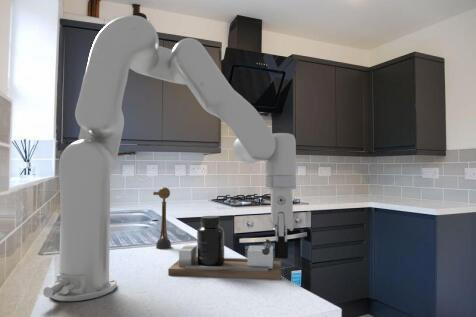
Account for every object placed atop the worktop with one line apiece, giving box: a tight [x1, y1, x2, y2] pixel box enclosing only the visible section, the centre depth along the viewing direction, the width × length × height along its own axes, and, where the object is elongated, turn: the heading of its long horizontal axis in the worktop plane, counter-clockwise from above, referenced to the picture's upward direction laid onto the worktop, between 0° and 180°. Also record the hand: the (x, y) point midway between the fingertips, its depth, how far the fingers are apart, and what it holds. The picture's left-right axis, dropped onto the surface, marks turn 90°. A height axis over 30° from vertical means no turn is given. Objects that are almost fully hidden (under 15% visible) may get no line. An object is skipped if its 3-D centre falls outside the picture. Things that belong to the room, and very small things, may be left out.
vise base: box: [167, 244, 282, 280], centre depth 81 cm, size 10×27×6 cm, turn 83°
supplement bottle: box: [196, 215, 225, 266], centre depth 81 cm, size 7×7×12 cm
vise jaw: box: [246, 239, 274, 269], centre depth 80 cm, size 11×6×5 cm, turn 173°
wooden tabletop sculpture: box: [153, 186, 172, 250], centre depth 107 cm, size 6×5×20 cm
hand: (281, 257), depth 79 cm, fingers closed
